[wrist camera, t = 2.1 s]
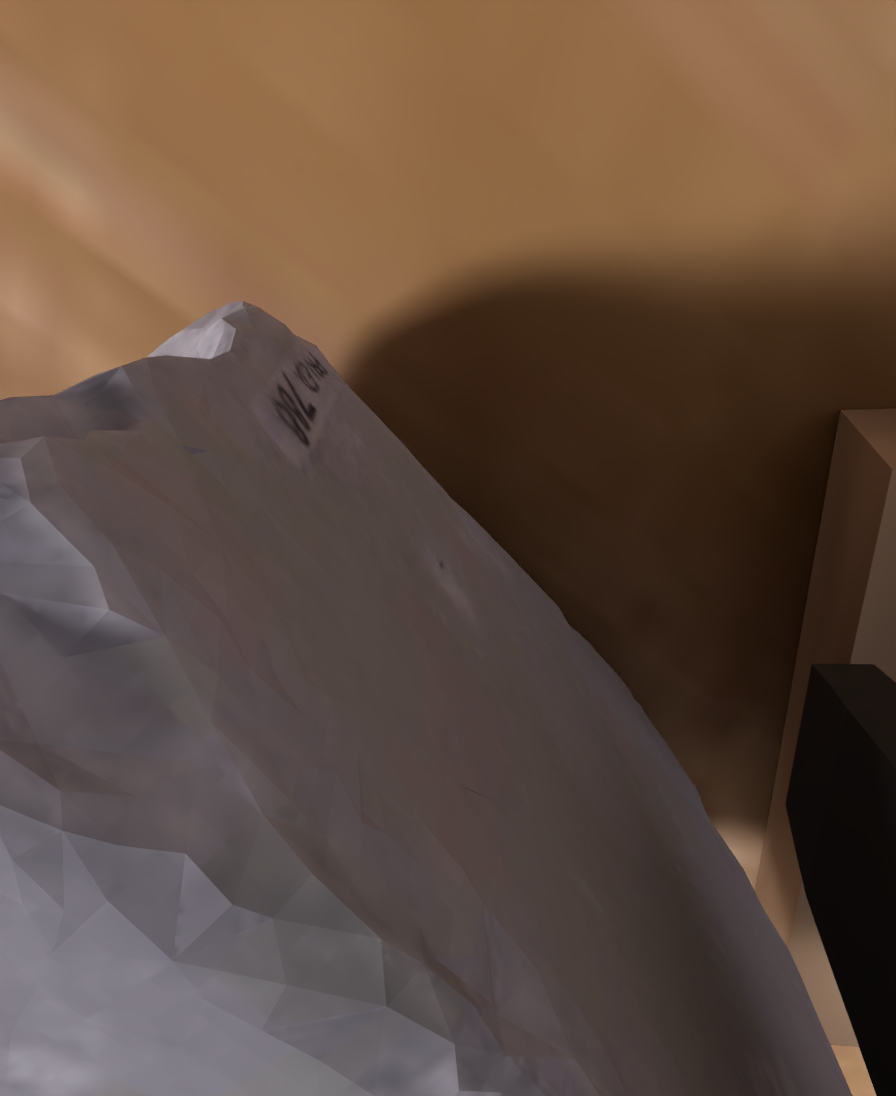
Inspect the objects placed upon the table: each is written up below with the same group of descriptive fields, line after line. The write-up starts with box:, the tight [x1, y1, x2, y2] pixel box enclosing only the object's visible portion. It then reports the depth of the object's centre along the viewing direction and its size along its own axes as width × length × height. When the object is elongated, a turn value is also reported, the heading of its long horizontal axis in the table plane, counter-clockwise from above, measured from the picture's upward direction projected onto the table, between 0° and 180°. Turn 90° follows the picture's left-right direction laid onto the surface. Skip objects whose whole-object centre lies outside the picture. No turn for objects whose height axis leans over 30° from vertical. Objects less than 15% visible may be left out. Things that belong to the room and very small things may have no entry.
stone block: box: [0, 301, 852, 1096], centre depth 9 cm, size 12×5×10 cm, turn 35°
